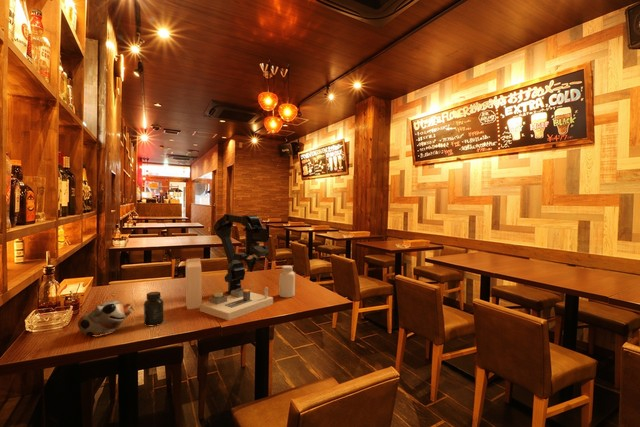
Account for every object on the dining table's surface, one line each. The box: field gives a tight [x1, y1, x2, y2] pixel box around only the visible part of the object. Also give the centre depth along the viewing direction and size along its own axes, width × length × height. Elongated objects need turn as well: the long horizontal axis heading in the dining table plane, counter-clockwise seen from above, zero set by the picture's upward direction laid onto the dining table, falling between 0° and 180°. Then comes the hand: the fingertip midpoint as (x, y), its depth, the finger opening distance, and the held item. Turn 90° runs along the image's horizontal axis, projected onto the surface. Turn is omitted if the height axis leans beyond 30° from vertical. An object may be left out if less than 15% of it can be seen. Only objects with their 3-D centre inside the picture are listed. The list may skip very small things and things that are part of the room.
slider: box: [243, 288, 251, 301], centre depth 148 cm, size 3×2×4 cm
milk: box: [185, 257, 203, 310], centre depth 148 cm, size 6×6×22 cm
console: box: [199, 286, 274, 322], centre depth 147 cm, size 19×26×8 cm
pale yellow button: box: [213, 291, 224, 298], centre depth 146 cm, size 4×4×2 cm
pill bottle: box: [278, 265, 296, 299], centre depth 166 cm, size 8×8×15 cm
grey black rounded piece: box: [77, 300, 134, 336], centre depth 120 cm, size 15×12×14 cm
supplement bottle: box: [143, 291, 165, 326], centre depth 128 cm, size 7×7×12 cm
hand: (251, 271), depth 162 cm, fingers closed
